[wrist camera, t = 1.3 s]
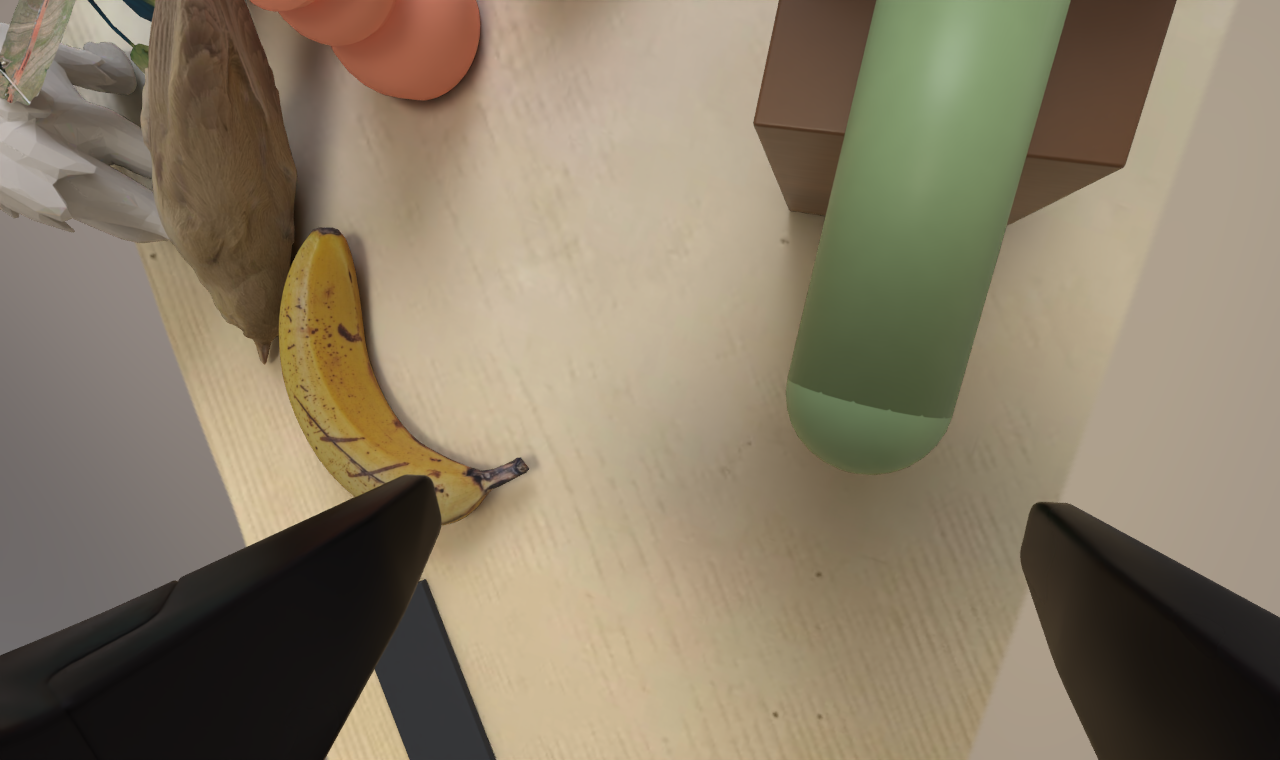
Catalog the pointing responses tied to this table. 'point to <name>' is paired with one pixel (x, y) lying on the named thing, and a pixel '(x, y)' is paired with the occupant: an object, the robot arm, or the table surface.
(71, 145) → the toy
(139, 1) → the toy figurine
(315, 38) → the pottery
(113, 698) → the robot arm
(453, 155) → the table surface
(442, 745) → the placemat
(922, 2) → the green pink knobbed rod
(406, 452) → the fruit
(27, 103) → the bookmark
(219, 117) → the sculpture
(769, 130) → the block
